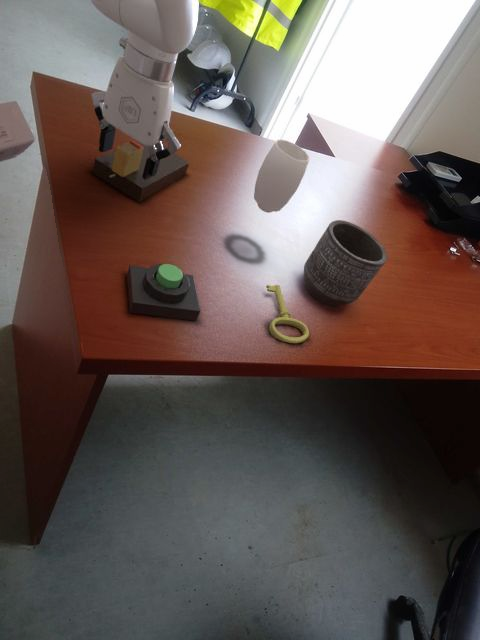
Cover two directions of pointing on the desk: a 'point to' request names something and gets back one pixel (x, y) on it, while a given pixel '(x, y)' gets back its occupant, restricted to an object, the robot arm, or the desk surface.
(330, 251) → the planter
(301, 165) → the cup
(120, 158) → the block
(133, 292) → the button box
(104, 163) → the plate
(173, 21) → the robot arm
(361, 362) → the desk surface
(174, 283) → the button
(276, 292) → the key
